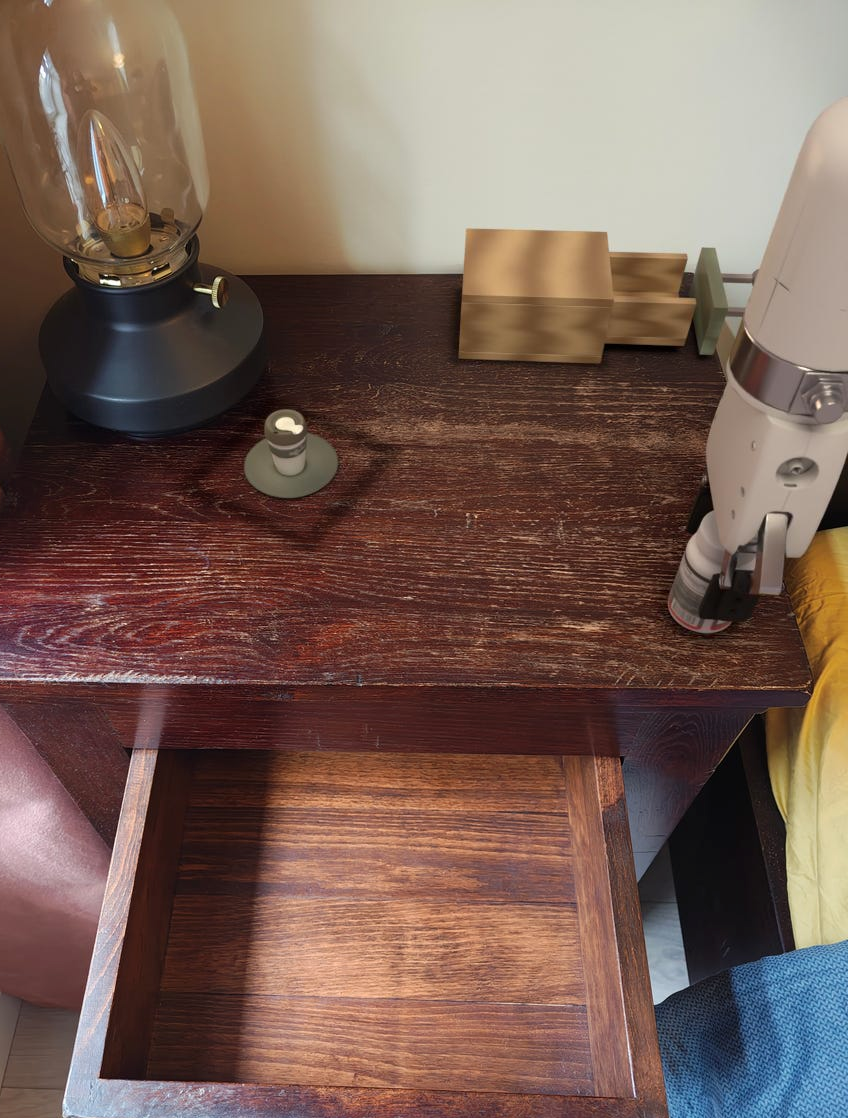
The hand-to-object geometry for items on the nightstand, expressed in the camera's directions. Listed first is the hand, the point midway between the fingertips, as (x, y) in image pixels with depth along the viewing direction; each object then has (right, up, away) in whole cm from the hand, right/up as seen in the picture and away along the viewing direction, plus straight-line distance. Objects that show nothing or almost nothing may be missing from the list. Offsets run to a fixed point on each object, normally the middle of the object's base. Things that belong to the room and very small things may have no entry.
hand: (715, 571), depth 64 cm
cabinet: (-9, +24, +23) cm, 35 cm away
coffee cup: (-30, +9, +13) cm, 34 cm away
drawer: (+4, +24, +21) cm, 32 cm away
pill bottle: (0, -3, +4) cm, 4 cm away
